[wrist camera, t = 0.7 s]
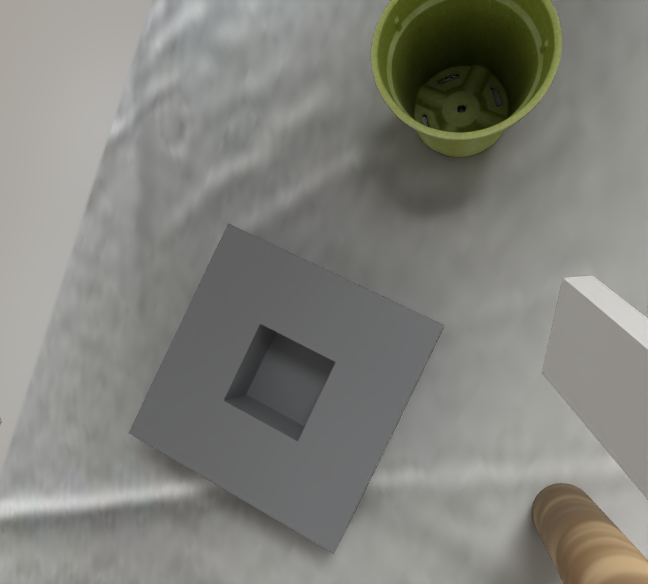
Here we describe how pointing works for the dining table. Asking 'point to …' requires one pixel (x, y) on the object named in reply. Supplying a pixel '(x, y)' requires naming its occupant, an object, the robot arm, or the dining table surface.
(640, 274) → the dining table surface
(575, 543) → the oak dowel
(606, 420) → the robot arm
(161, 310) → the dining table surface
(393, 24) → the plant pot
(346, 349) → the socket block
